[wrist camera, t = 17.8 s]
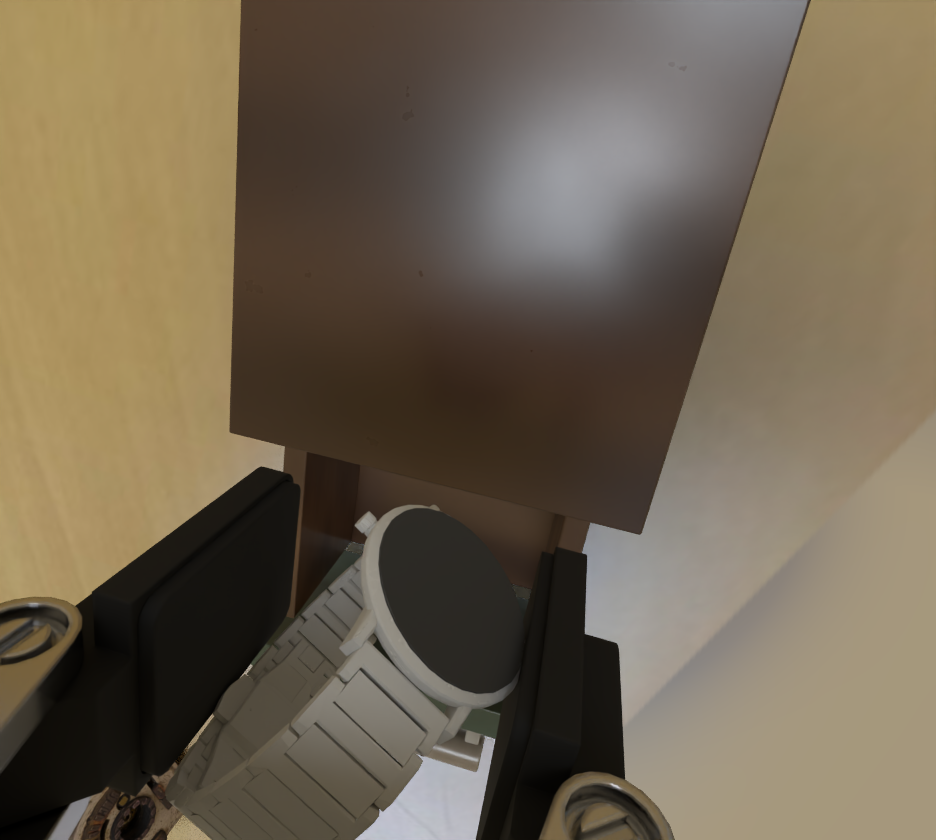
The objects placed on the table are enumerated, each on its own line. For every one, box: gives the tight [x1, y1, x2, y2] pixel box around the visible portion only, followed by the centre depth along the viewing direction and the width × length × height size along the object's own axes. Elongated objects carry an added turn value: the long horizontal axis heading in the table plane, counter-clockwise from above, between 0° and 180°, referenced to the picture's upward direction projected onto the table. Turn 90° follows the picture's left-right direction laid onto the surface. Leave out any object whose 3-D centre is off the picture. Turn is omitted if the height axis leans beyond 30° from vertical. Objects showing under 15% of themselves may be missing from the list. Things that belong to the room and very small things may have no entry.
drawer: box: [251, 446, 590, 772], centre depth 23 cm, size 19×11×7 cm, turn 170°
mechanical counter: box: [68, 762, 183, 840], centre depth 35 cm, size 7×13×10 cm
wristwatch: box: [165, 505, 525, 840], centre depth 9 cm, size 3×5×5 cm, turn 134°
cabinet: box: [230, 0, 811, 535], centre depth 19 cm, size 16×13×9 cm
